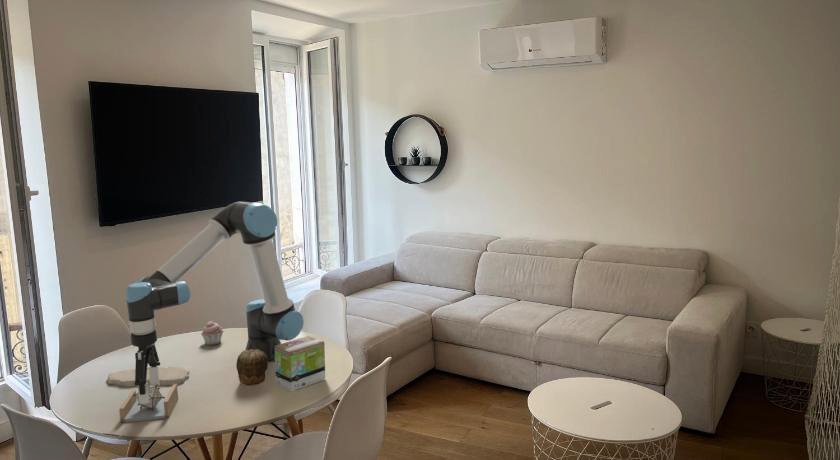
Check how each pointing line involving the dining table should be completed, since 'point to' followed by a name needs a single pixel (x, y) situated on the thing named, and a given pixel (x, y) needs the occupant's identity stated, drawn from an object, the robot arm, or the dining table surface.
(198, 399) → the dining table surface
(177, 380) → the stone tablet
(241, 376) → the woven dome ornament
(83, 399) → the dining table surface
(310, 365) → the tea box
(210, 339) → the cupcake
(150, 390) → the game die
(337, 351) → the dining table surface
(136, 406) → the track
